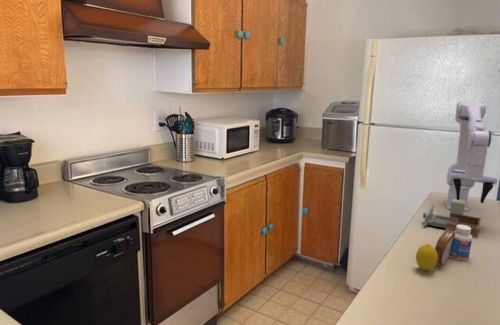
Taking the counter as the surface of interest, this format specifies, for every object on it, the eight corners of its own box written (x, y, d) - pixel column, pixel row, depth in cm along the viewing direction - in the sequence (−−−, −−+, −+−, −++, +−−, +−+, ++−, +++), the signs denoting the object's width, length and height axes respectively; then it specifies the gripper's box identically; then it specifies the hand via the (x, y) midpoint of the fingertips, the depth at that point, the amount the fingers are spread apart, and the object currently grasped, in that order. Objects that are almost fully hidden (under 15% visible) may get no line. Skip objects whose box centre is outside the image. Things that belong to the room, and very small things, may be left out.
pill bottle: (458, 262, 117) (463, 231, 114) (444, 253, 122) (449, 224, 119) (473, 259, 118) (478, 229, 116) (459, 251, 123) (463, 222, 121)
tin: (443, 249, 124) (447, 224, 122) (454, 252, 122) (458, 227, 120) (430, 267, 113) (433, 240, 111) (441, 271, 111) (445, 243, 109)
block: (450, 215, 156) (452, 198, 154) (462, 217, 153) (465, 200, 152) (449, 218, 152) (451, 201, 150) (461, 221, 150) (464, 203, 148)
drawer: (427, 213, 155) (428, 203, 154) (459, 219, 149) (460, 209, 148) (420, 224, 143) (421, 214, 142) (455, 232, 137) (456, 221, 136)
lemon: (411, 270, 111) (414, 244, 109) (419, 264, 115) (422, 238, 113) (431, 277, 107) (434, 250, 105) (438, 270, 111) (442, 244, 109)
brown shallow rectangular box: (449, 220, 150) (450, 212, 150) (479, 226, 145) (480, 218, 144) (444, 231, 140) (446, 223, 139) (477, 237, 134) (478, 229, 134)
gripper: (453, 164, 138) (448, 201, 141) (501, 169, 132) (494, 207, 136) (451, 160, 144) (446, 195, 147) (497, 164, 139) (491, 201, 142)
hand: (469, 200), depth 142 cm, fingers open, 7 cm apart
